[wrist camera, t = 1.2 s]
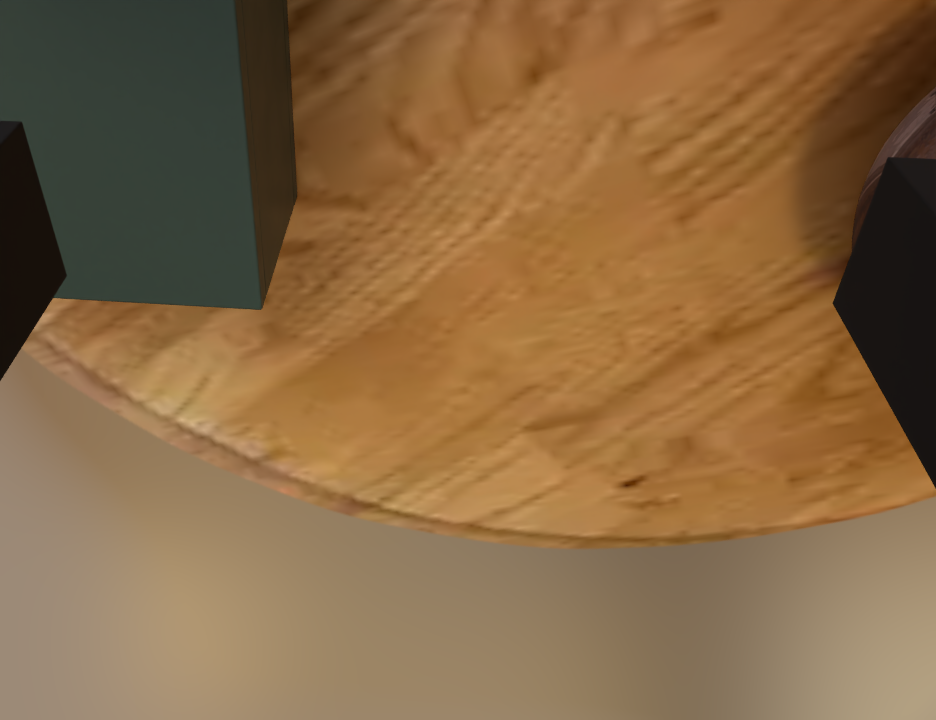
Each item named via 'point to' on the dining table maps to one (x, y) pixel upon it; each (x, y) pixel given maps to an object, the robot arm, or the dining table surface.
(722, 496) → the dining table surface
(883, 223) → the robot arm
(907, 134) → the wooden sphere
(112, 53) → the cabinet
